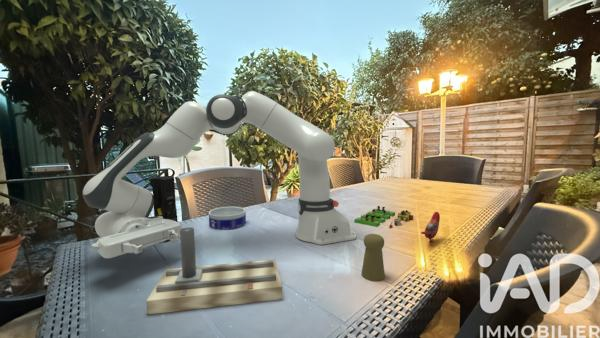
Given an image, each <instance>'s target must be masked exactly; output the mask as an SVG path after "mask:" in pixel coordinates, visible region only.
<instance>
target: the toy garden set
mask: <svg viewBox="0 0 600 338" xmlns="http://www.w3.org/2000/svg"><path fill="white" fill-rule="evenodd" d="M385 208H386V206H382V207H381V206H380V205H377V208H372V210H371V211H368V212H366V213H365V214H363V215H360V217H357V218H354V221H353V223H355V224H361V225H365V226H370V227H376V228H378V227H379V226H380V224H383V223H385V222H386V220H389V219H391V217H394V216H396V212H395V211H390V210H386V209H385ZM411 212H412V211H409V210H407V209H406V210H401V212H398V213H397V218H394V220H393V221H394V223H393V221H391V223H390V224H389V227H388V229H391V228H392V227H393V225H394V226H395V227H396V226H397V227H398V226H401V223H402V222H401V221H407V222H408V221H413V220H414V215H413V214H412V213H411Z"/></svg>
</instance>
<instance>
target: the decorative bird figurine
mask: <svg viewBox="0 0 600 338" xmlns="http://www.w3.org/2000/svg"><path fill="white" fill-rule="evenodd" d="M440 218H441V216H440V213H439V212H438V211H435V212H434V213H433V214H432V216H431V218H430V220H429V222H428V223H427V225H426V227H425V229H424V230H423V231H421V232H420V233H421V234H423V235H424V237H425V238H427V239H428V240H429V242H428V243H429V244H431V243H432V241H433V242H434V240H435V239H434V238H435V237H436V236H437V234H438V231H439V227H440V220H441V219H440ZM430 242H431V243H430Z"/></svg>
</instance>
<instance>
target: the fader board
mask: <svg viewBox="0 0 600 338" xmlns="http://www.w3.org/2000/svg"><path fill="white" fill-rule="evenodd" d="M196 269H202V276H201V278H200V281H199V282H189V283H179V284H175V281H176V279H177V277H178V275H179V273H180V271H182V267H176V268H173V267H172V268H166V269H165V270H164V272H163V274H162V275H161V277H160V278H159V279H158V282H157V283H156V285H155V286H154V288H153V290H152V291H151V293H150V295H149V296H148V297H147V299H146V301H145V303H146V315H157V314H164V313H174V312H182V311H189V310H190V311H191V310H200V309H207V308H216V307H217V306H218V307H226V306H234V305H242V304H252V303H260V302H268V301H269V302H270V301H279V300H283V286H282V281H281V277H280V273H279V269H278V264H277V260H276V259H268V260H257V261H244V262H232V263H231V262H230V263H222V264H209V265H198V266H197V265H196ZM218 307H217V308H218Z"/></svg>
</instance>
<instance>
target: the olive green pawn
mask: <svg viewBox="0 0 600 338" xmlns="http://www.w3.org/2000/svg"><path fill="white" fill-rule="evenodd" d="M363 245H364V247H365V249H364V250H365V251H364V256H363V263H362V268H361V273H360V274H361V276H362V278H363V279H365V280H367V281H369V282H381V281H383V280H384V279H385V277H386V274H385V264H384V254H383V248H384V246H385V239H384V237H383V236H382V235H380V234H378V233H377V234H376V233H369V234H366V235H365V236H364V238H363Z"/></svg>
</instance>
